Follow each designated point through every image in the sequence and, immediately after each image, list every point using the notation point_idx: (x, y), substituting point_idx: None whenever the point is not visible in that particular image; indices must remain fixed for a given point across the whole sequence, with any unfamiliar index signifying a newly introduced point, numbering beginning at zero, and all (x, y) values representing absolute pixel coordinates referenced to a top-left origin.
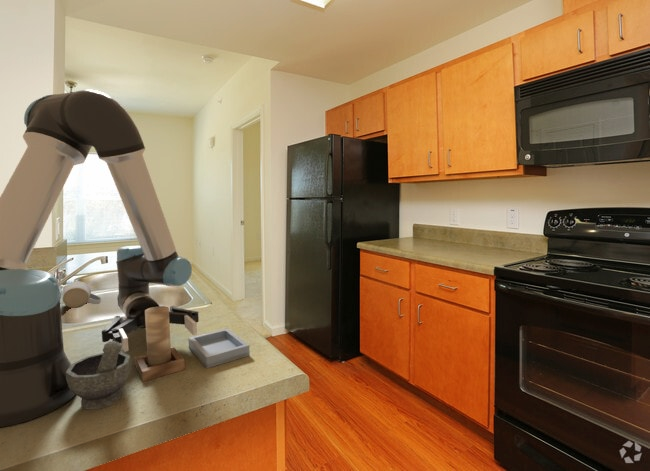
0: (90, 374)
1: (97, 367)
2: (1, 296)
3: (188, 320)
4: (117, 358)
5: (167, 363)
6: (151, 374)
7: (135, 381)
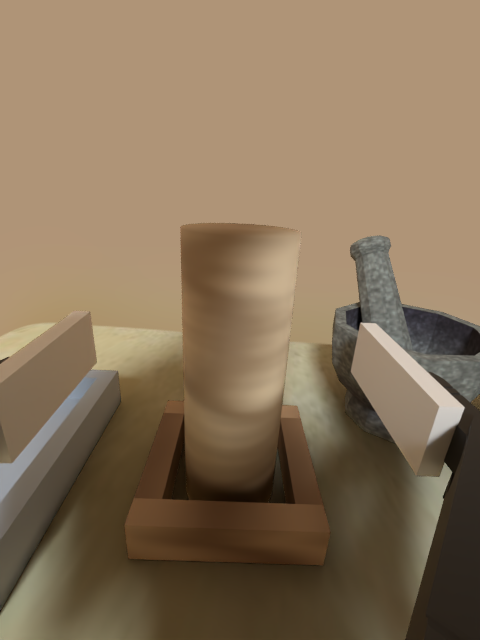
0: None
1: None
2: None
3: (52, 348)
4: (358, 285)
5: None
6: None
7: (314, 443)
